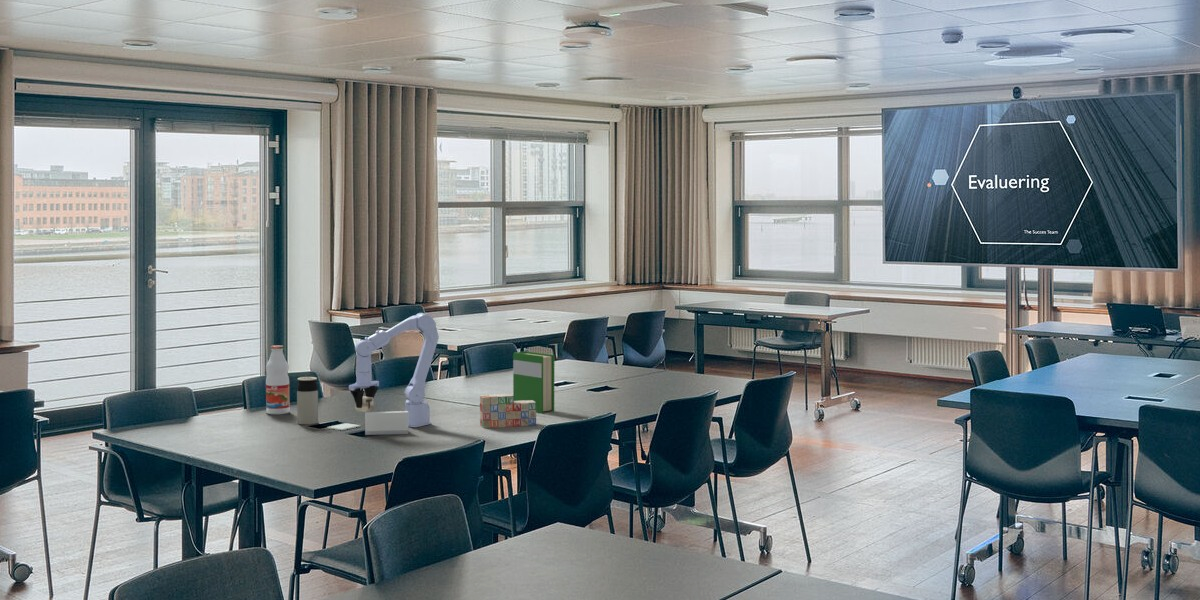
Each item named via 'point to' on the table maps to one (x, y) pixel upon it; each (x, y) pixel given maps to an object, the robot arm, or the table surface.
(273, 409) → the fruit juice
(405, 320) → the robot arm
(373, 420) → the divider screen
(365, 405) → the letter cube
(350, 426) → the sage pad
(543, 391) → the hardback book
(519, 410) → the stack of blocks
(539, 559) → the table surface
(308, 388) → the travel mug
